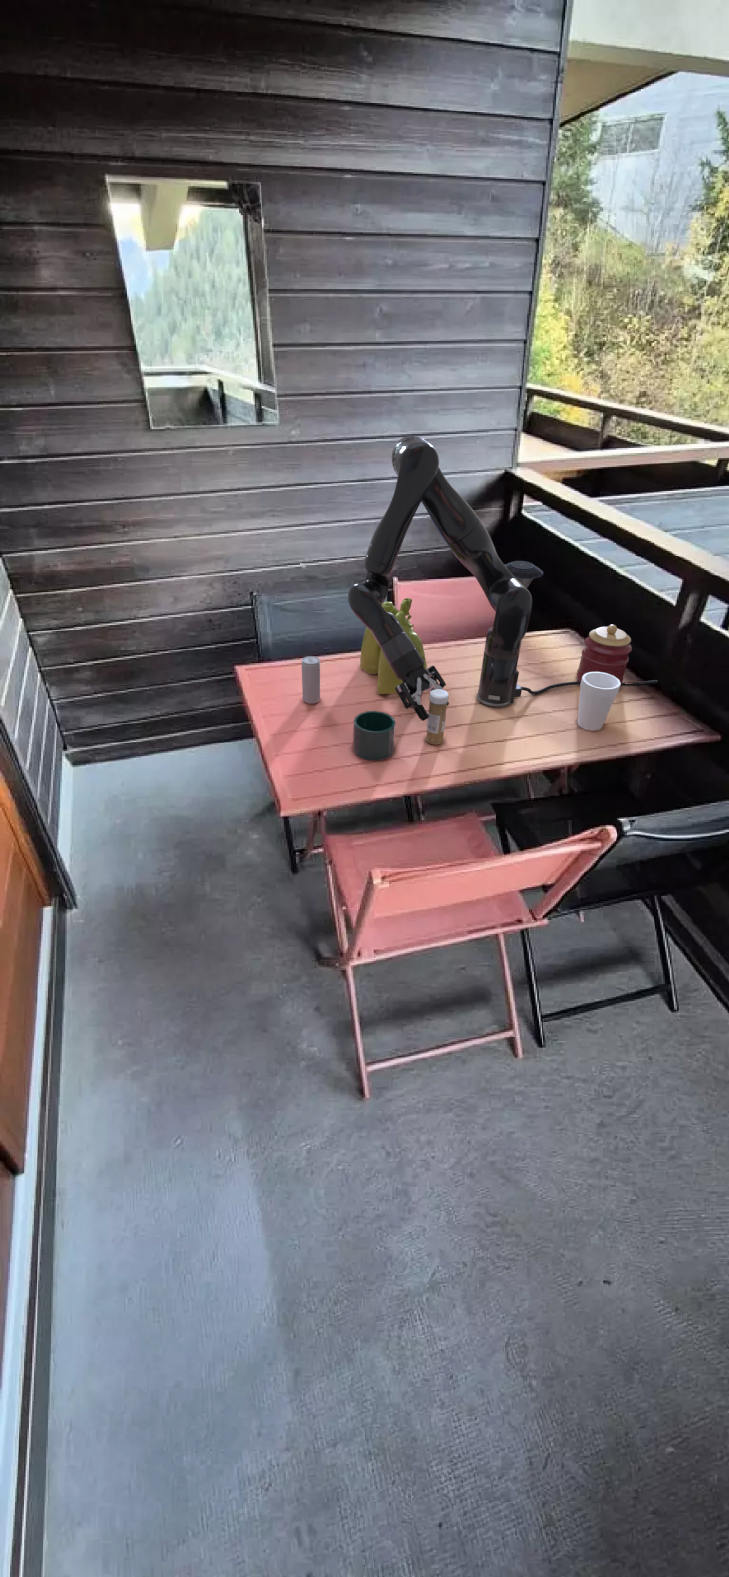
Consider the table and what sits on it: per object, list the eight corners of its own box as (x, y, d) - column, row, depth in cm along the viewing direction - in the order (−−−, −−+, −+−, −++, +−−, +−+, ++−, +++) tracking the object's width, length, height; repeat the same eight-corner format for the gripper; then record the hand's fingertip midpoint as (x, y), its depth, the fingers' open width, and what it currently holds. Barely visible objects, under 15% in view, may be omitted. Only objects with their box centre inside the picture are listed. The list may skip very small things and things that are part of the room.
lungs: (434, 694, 194) (443, 612, 180) (382, 702, 190) (386, 618, 176) (402, 655, 213) (408, 578, 199) (354, 661, 209) (356, 582, 194)
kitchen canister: (626, 679, 205) (642, 623, 195) (613, 697, 196) (630, 639, 186) (583, 667, 211) (597, 612, 200) (569, 684, 202) (582, 627, 191)
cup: (388, 737, 176) (390, 709, 171) (397, 759, 168) (399, 730, 163) (350, 740, 174) (350, 712, 169) (357, 762, 166) (358, 733, 162)
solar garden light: (533, 663, 212) (553, 565, 194) (511, 676, 205) (528, 575, 187) (500, 650, 218) (516, 554, 201) (477, 662, 211) (491, 564, 193)
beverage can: (306, 706, 187) (306, 665, 180) (299, 698, 190) (298, 657, 183) (323, 702, 189) (323, 662, 182) (315, 694, 192) (315, 654, 185)
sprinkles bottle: (447, 742, 175) (452, 694, 167) (432, 747, 173) (437, 699, 165) (435, 733, 178) (440, 686, 170) (421, 738, 176) (426, 691, 168)
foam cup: (609, 719, 187) (621, 675, 179) (607, 736, 179) (619, 692, 172) (573, 712, 189) (583, 669, 181) (569, 729, 182) (580, 685, 174)
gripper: (393, 658, 162) (429, 718, 163) (428, 639, 171) (462, 696, 172) (374, 671, 168) (409, 729, 169) (409, 652, 177) (442, 707, 178)
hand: (436, 712), depth 171 cm, fingers open, 8 cm apart
